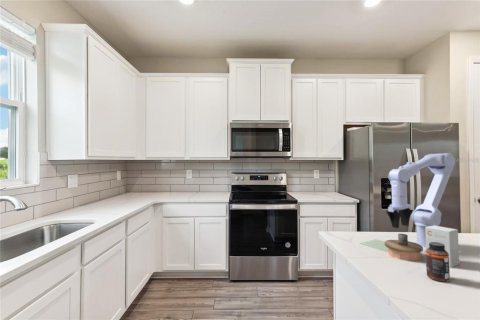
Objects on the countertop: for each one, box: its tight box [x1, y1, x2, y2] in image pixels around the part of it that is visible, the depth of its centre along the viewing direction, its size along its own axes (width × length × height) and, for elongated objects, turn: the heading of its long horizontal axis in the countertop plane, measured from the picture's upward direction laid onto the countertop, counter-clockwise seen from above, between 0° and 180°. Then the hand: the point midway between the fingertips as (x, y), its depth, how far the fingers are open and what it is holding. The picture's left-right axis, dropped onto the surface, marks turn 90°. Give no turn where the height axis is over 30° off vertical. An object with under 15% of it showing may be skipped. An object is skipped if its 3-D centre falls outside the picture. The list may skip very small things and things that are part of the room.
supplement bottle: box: [425, 242, 451, 282], centre depth 81 cm, size 6×6×11 cm
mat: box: [359, 239, 389, 253], centre depth 114 cm, size 13×13×1 cm
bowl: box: [387, 248, 422, 262], centre depth 100 cm, size 11×11×4 cm
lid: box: [384, 233, 424, 253], centre depth 100 cm, size 13×13×6 cm
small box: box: [425, 225, 460, 268], centre depth 94 cm, size 8×6×13 cm
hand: (400, 226), depth 110 cm, fingers open, 7 cm apart
